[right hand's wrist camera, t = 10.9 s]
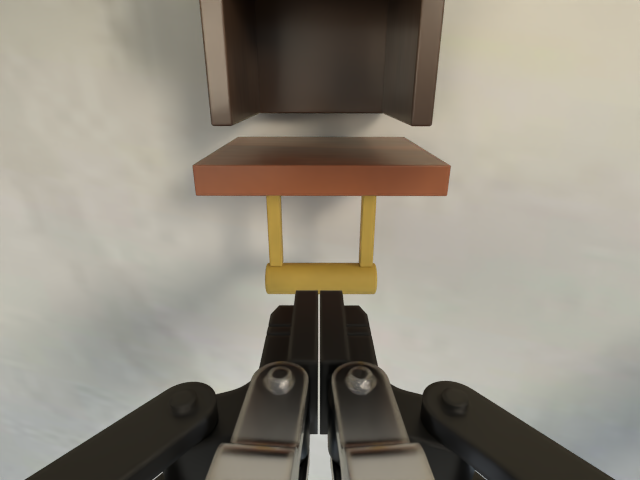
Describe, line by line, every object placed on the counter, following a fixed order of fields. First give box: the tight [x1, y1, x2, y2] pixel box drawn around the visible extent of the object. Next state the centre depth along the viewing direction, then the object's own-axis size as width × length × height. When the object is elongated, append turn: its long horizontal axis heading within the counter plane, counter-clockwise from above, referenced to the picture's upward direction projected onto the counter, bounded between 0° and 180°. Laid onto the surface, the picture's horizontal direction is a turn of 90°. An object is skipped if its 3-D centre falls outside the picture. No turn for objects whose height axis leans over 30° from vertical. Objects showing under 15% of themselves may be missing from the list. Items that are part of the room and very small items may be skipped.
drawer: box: [193, 0, 451, 294], centre depth 17 cm, size 23×10×9 cm, turn 0°
